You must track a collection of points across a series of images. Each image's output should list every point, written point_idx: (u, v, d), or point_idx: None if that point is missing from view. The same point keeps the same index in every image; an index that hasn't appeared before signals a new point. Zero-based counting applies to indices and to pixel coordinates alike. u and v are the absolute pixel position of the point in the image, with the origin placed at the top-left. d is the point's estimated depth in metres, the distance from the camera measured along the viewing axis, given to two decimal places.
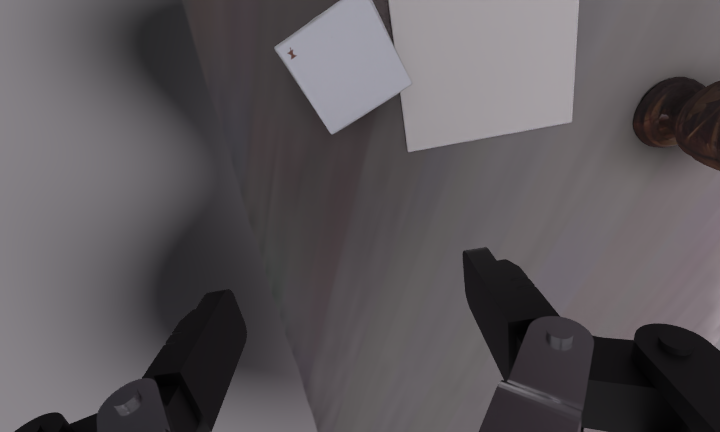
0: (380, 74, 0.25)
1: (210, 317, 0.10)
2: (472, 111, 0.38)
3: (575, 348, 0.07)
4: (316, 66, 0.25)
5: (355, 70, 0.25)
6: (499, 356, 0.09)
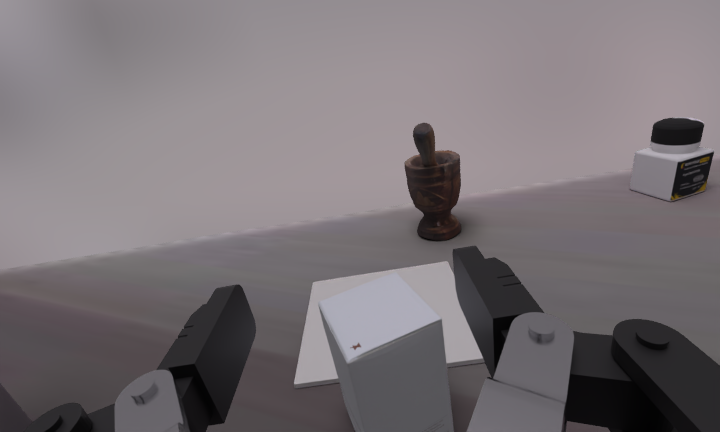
0: (385, 287, 0.28)
1: (221, 311, 0.10)
2: (442, 312, 0.42)
3: (555, 343, 0.07)
4: (371, 327, 0.24)
5: (380, 301, 0.26)
6: (486, 352, 0.09)
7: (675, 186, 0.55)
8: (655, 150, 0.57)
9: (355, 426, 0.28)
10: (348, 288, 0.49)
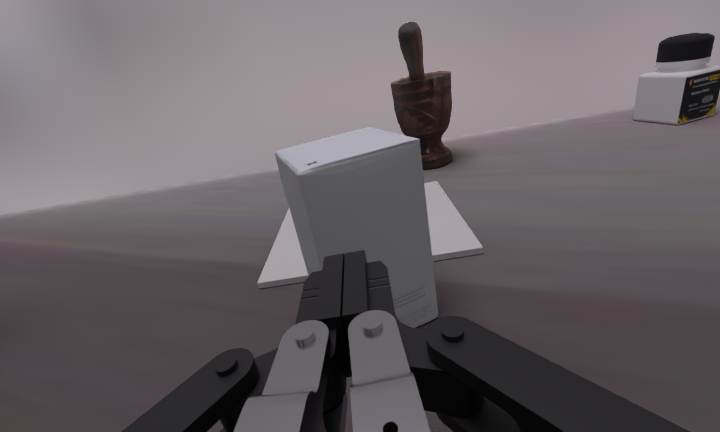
0: (355, 133, 0.23)
1: (341, 275, 0.11)
2: (429, 217, 0.37)
3: (377, 336, 0.08)
4: (333, 152, 0.20)
5: (347, 139, 0.22)
6: None
7: (683, 106, 0.51)
8: (661, 71, 0.53)
9: None
10: None
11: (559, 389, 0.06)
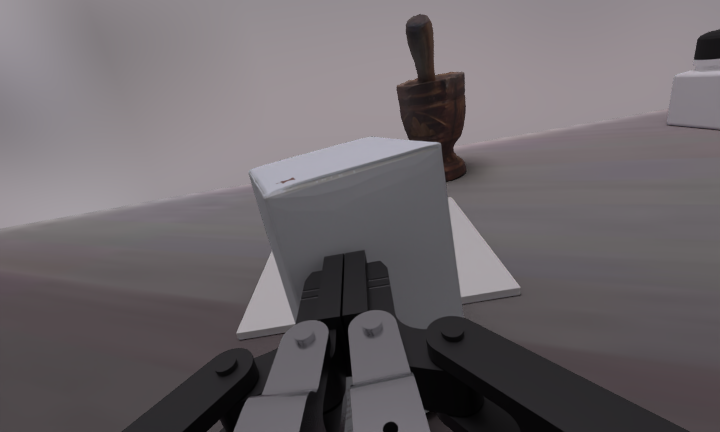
0: (353, 143, 0.18)
1: (341, 275, 0.11)
2: None
3: (377, 336, 0.08)
4: (319, 165, 0.14)
5: (341, 150, 0.16)
6: None
7: None
8: (701, 69, 0.47)
9: None
10: None
11: (559, 389, 0.06)
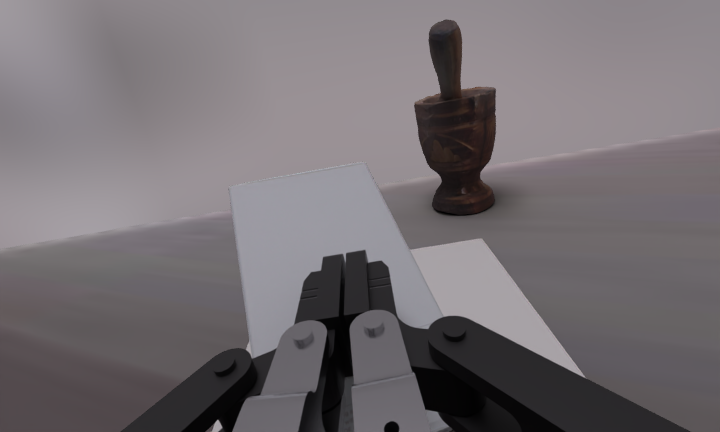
0: None
1: (340, 275, 0.11)
2: (486, 313, 0.24)
3: (378, 336, 0.08)
4: None
5: None
6: None
7: None
8: None
9: None
10: None
11: (561, 389, 0.06)
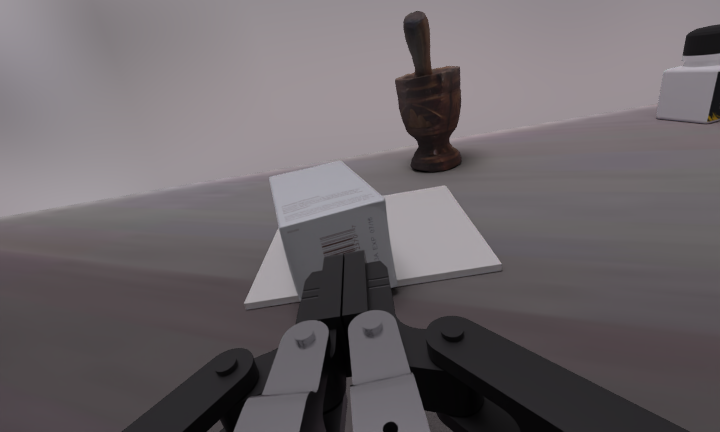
0: None
1: (341, 275, 0.11)
2: (438, 227, 0.33)
3: (377, 336, 0.08)
4: None
5: None
6: None
7: (713, 103, 0.47)
8: (688, 65, 0.49)
9: None
10: None
11: (559, 389, 0.06)
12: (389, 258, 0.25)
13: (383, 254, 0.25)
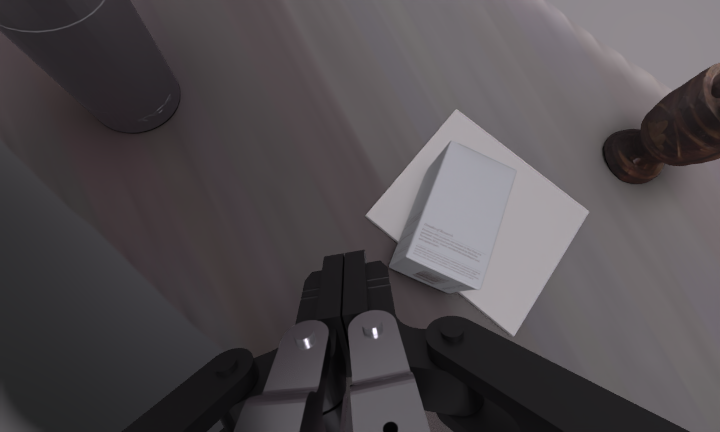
0: None
1: (341, 275, 0.11)
2: (524, 263, 0.39)
3: (377, 336, 0.08)
4: None
5: None
6: None
7: None
8: None
9: (406, 235, 0.34)
10: None
11: (558, 388, 0.06)
12: (456, 291, 0.34)
13: (454, 289, 0.34)
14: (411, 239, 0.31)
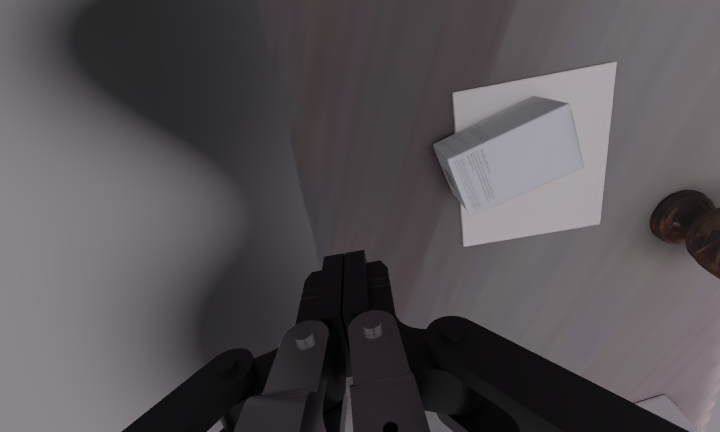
0: None
1: (341, 275, 0.11)
2: (518, 216, 0.46)
3: (377, 336, 0.08)
4: None
5: None
6: None
7: None
8: None
9: (463, 140, 0.37)
10: (585, 116, 0.41)
11: (559, 389, 0.06)
12: (457, 198, 0.42)
13: (457, 197, 0.41)
14: (462, 151, 0.35)
